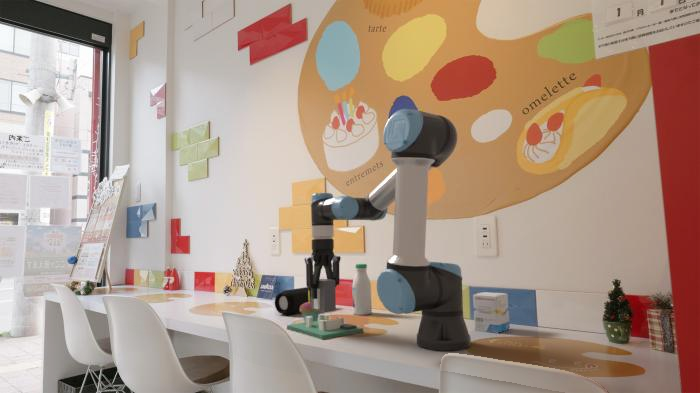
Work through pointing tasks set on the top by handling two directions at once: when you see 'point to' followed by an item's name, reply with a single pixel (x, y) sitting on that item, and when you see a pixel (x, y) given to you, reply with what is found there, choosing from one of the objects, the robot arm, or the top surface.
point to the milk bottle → (361, 291)
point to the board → (325, 327)
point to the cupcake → (309, 309)
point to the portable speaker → (291, 300)
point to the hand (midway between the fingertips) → (323, 307)
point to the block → (326, 295)
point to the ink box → (491, 311)
